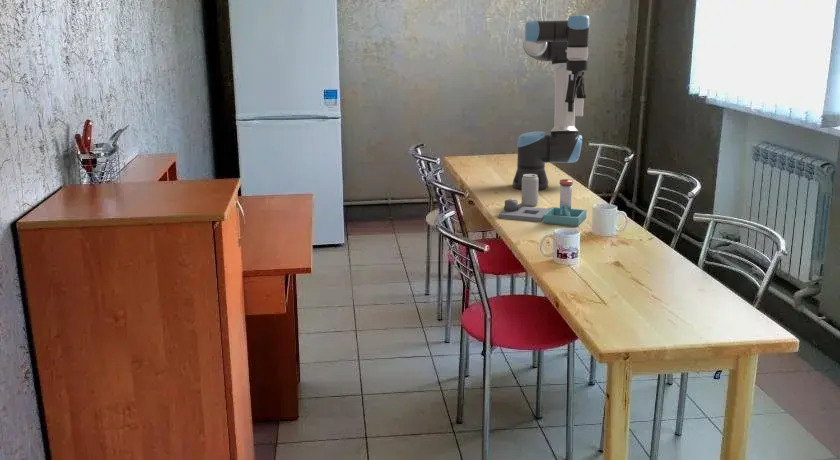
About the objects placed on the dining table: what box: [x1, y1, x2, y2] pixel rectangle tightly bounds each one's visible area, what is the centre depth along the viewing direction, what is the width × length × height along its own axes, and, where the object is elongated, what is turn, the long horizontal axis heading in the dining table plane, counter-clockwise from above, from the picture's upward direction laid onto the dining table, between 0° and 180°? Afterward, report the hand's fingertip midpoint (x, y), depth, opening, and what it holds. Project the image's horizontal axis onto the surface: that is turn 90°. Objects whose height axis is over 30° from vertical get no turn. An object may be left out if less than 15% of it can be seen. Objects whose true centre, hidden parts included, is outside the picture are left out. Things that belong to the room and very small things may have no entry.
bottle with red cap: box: [559, 178, 574, 217], centre depth 283 cm, size 5×5×14 cm
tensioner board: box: [498, 198, 551, 223], centre depth 292 cm, size 14×16×6 cm
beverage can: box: [520, 174, 539, 207], centre depth 306 cm, size 6×6×12 cm
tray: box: [542, 206, 588, 227], centre depth 284 cm, size 13×13×3 cm
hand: (574, 118), depth 290 cm, fingers open, 13 cm apart
